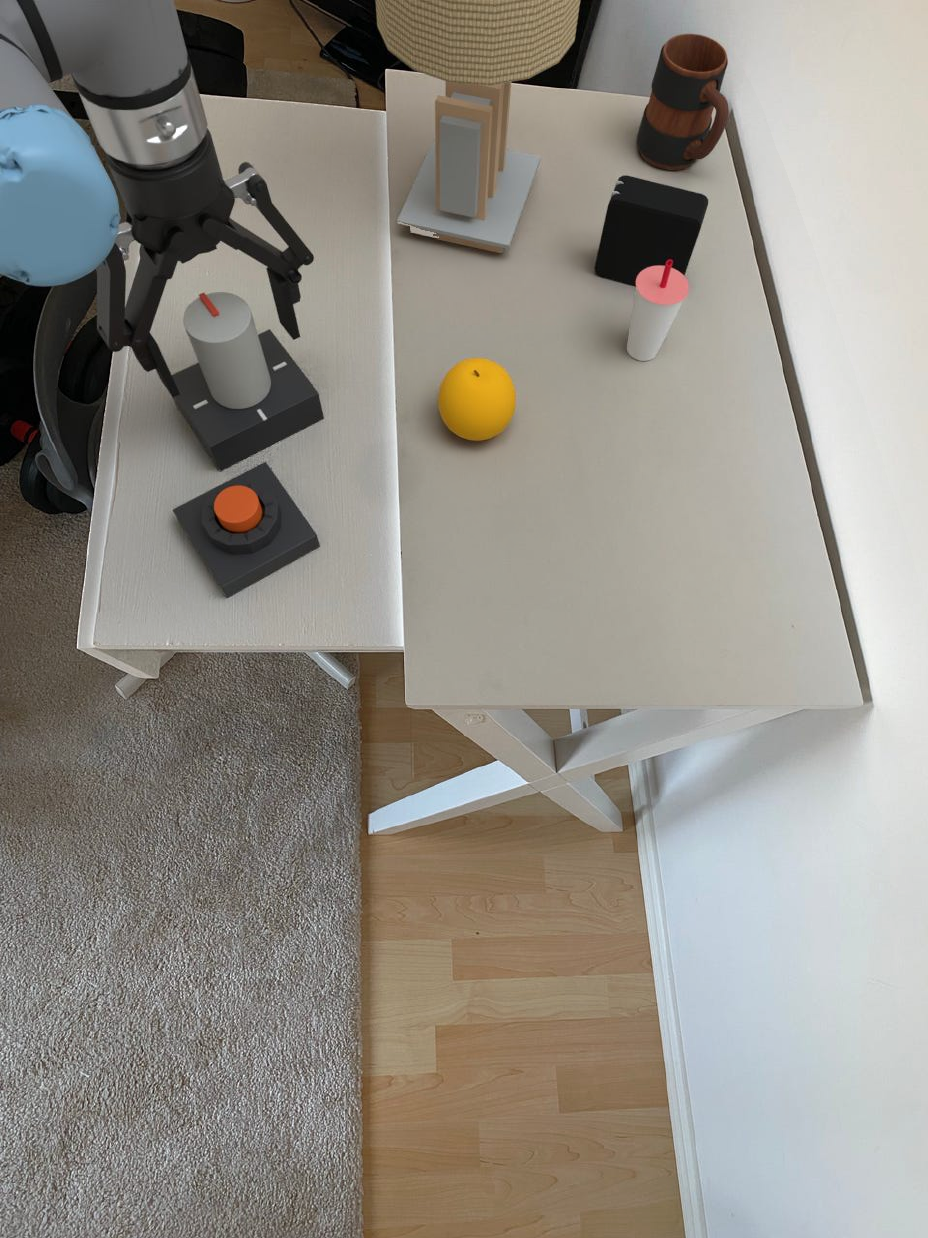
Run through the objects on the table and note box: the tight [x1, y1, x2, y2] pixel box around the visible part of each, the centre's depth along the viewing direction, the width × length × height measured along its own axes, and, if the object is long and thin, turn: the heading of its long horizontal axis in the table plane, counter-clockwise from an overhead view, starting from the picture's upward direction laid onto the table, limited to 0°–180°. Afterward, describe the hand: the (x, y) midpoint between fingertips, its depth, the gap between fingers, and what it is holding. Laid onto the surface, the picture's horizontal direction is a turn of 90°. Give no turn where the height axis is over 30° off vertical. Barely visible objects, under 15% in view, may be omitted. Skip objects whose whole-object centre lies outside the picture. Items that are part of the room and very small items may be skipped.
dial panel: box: [171, 328, 325, 472], centre depth 80 cm, size 12×10×4 cm
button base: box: [172, 461, 321, 599], centre depth 74 cm, size 10×10×4 cm
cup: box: [626, 259, 690, 362], centre depth 81 cm, size 5×5×12 cm
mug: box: [636, 33, 730, 171], centre depth 95 cm, size 9×12×12 cm
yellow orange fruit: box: [437, 357, 517, 442], centre depth 79 cm, size 8×8×8 cm
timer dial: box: [182, 291, 271, 409], centre depth 74 cm, size 6×6×9 cm
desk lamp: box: [375, 0, 581, 254], centre depth 80 cm, size 20×20×35 cm
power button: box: [214, 486, 262, 533], centre depth 72 cm, size 4×4×2 cm
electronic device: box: [593, 174, 709, 287], centre depth 87 cm, size 4×10×10 cm, turn 71°
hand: (231, 357), depth 75 cm, fingers open, 12 cm apart
